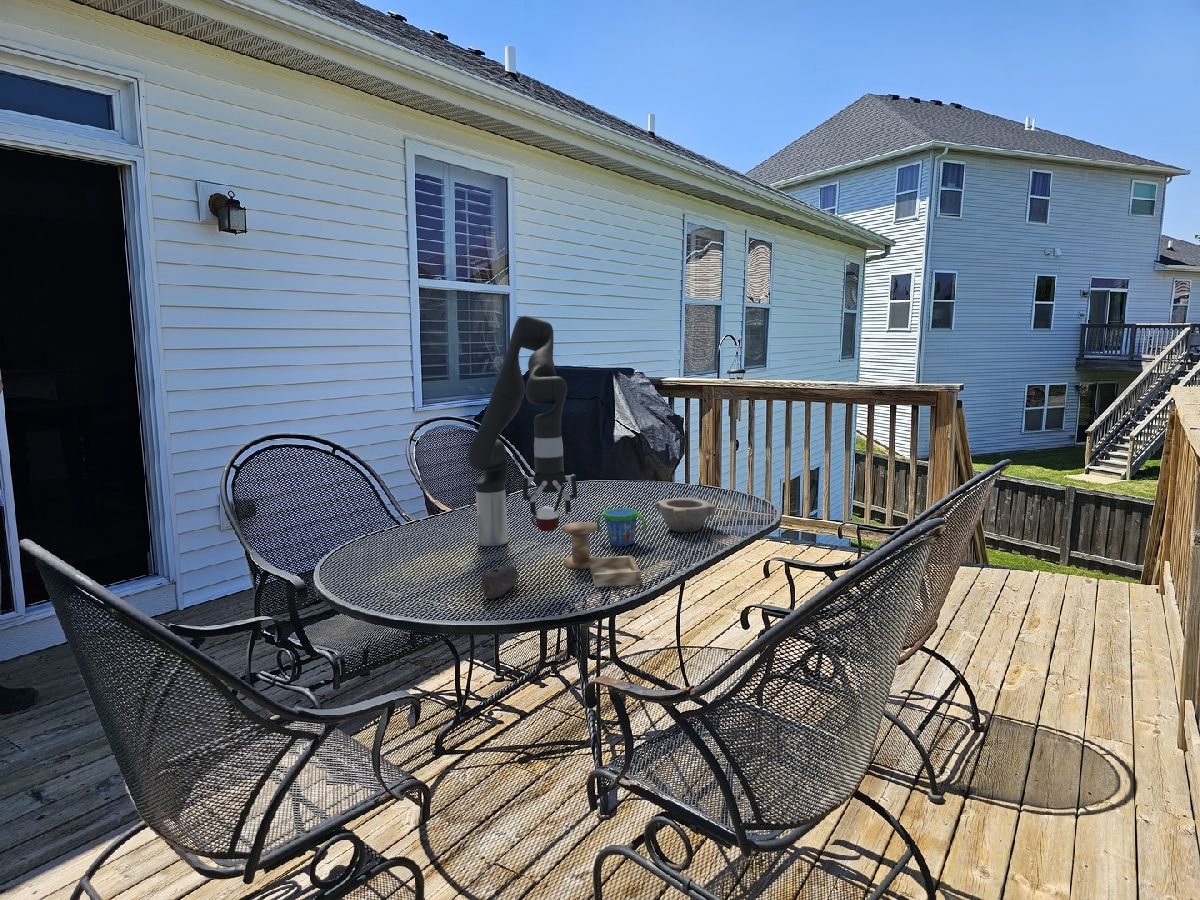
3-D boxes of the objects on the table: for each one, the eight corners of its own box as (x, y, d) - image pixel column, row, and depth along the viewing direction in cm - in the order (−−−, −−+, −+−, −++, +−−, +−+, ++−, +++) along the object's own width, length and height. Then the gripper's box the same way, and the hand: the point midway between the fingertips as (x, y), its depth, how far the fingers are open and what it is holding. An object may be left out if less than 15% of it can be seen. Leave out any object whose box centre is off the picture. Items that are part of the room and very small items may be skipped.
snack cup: (591, 546, 227) (590, 514, 225) (605, 537, 236) (604, 506, 235) (639, 550, 220) (638, 517, 219) (651, 541, 230) (650, 509, 228)
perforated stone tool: (509, 582, 195) (508, 557, 194) (526, 585, 193) (524, 559, 192) (475, 601, 182) (473, 574, 181) (492, 604, 180) (491, 577, 179)
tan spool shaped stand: (564, 570, 204) (563, 532, 202) (562, 559, 214) (561, 523, 212) (600, 568, 205) (599, 529, 203) (597, 557, 215) (595, 521, 213)
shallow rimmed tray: (595, 587, 189) (594, 574, 189) (589, 569, 204) (589, 557, 204) (640, 584, 191) (640, 571, 190) (632, 566, 205) (632, 555, 205)
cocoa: (528, 531, 194) (524, 486, 192) (544, 525, 199) (541, 482, 197) (554, 535, 188) (551, 489, 186) (571, 529, 193) (567, 484, 191)
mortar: (721, 531, 238) (721, 504, 237) (676, 538, 231) (675, 510, 230) (693, 520, 253) (693, 494, 252) (650, 527, 247) (650, 500, 245)
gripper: (520, 457, 186) (523, 519, 189) (577, 455, 187) (578, 517, 190) (521, 452, 193) (523, 512, 196) (575, 450, 195) (576, 510, 197)
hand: (550, 514), depth 193 cm, fingers closed on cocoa, 8 cm apart
